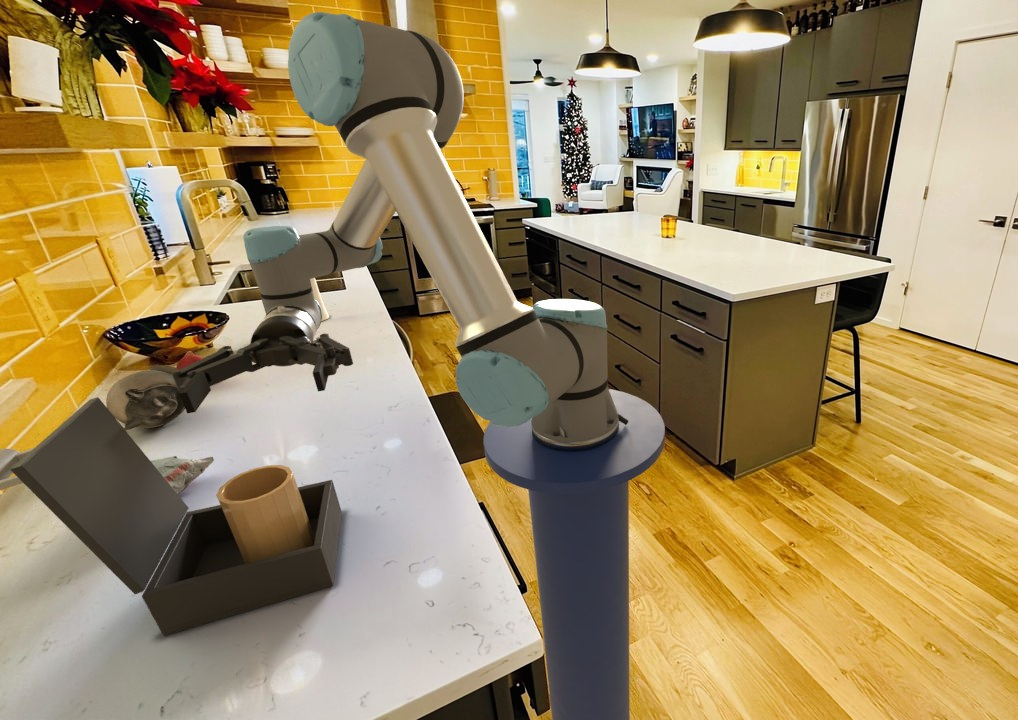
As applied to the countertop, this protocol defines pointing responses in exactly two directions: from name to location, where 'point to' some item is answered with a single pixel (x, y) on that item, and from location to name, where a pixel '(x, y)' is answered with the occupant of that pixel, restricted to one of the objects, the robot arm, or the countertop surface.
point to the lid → (101, 491)
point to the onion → (188, 360)
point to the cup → (266, 513)
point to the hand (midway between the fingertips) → (255, 392)
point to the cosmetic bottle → (319, 298)
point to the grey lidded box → (239, 566)
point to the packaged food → (181, 470)
